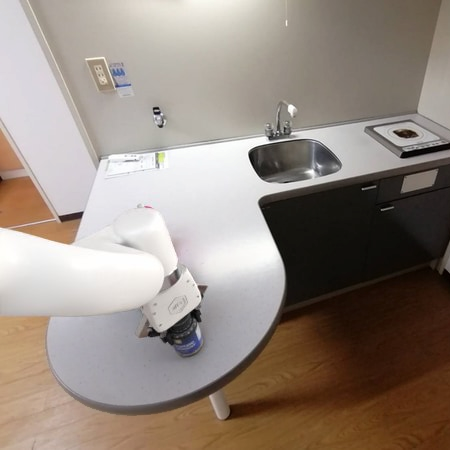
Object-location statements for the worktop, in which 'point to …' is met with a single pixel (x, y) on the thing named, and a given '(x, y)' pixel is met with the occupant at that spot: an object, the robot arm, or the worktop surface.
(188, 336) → the pill bottle
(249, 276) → the worktop surface
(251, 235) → the worktop surface
